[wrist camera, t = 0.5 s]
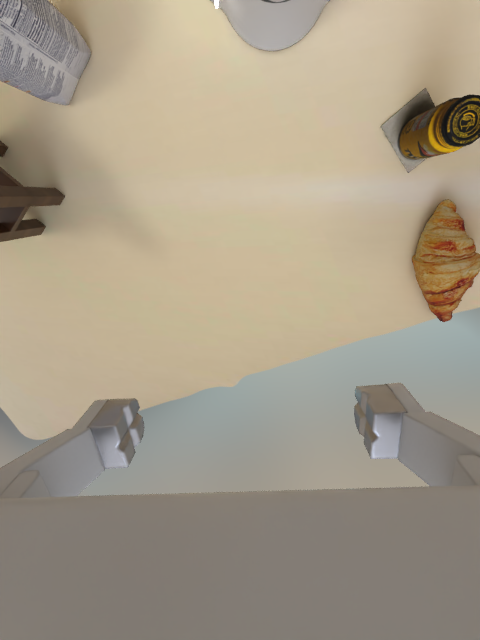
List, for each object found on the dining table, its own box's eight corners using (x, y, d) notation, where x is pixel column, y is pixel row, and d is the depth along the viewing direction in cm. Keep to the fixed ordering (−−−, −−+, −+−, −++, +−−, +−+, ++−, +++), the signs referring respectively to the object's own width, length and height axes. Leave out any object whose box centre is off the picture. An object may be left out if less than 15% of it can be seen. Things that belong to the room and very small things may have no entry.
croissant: (411, 204, 52) (407, 210, 46) (484, 189, 47) (491, 194, 41) (415, 313, 60) (413, 330, 54) (479, 311, 54) (485, 331, 48)
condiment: (407, 173, 48) (453, 166, 37) (380, 126, 45) (420, 104, 34) (451, 138, 46) (513, 120, 35) (424, 88, 43) (482, 51, 32)
